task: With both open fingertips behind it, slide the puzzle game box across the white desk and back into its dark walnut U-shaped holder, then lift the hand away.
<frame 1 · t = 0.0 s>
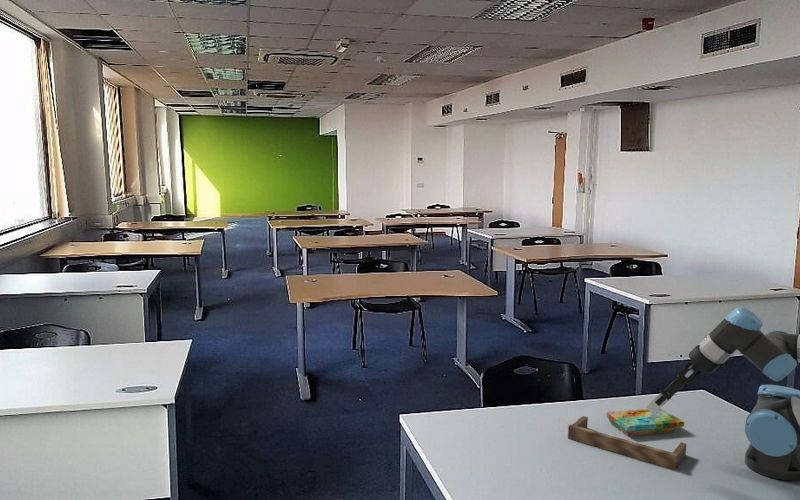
hand: (657, 403, 180), 15 cm above the table, tool tilted 35°, fingers open, 13 cm apart
puzzle game: (644, 429, 200), on the table
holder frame: (629, 442, 189), on the table
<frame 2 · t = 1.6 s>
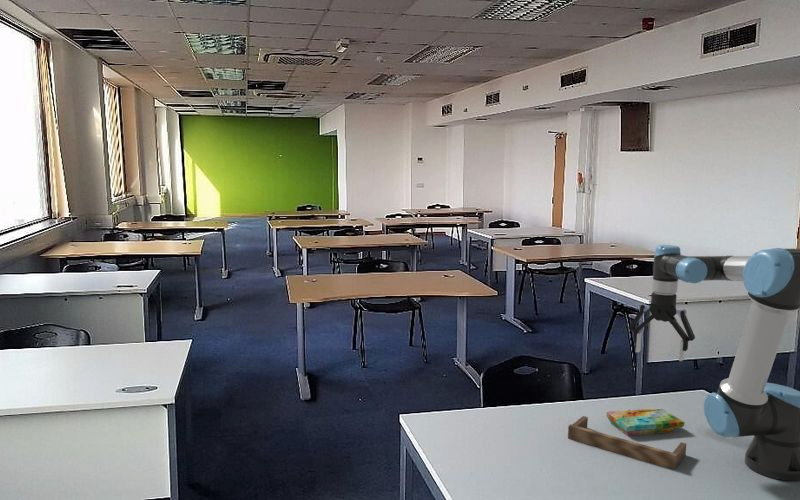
hand: (659, 355, 206), 21 cm above the table, tool pointing down, fingers open, 13 cm apart
nothing on the table moved.
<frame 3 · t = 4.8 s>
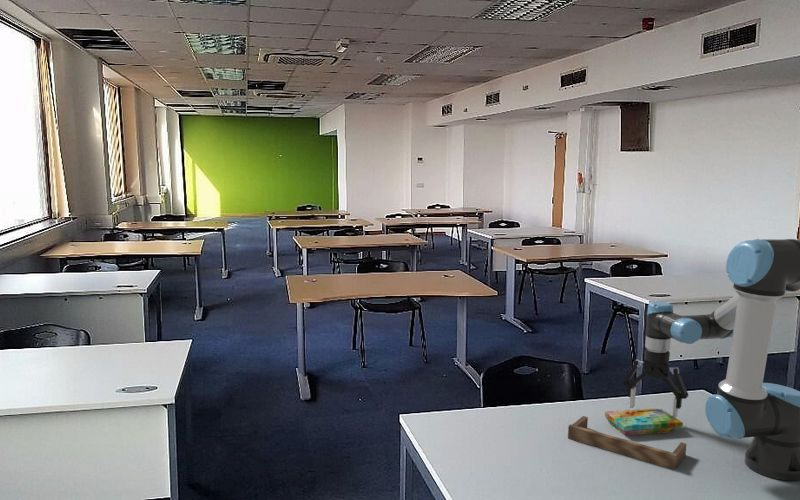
hand: (653, 412, 206), 3 cm above the table, tool pointing down, fingers open, 13 cm apart
nothing on the table moved.
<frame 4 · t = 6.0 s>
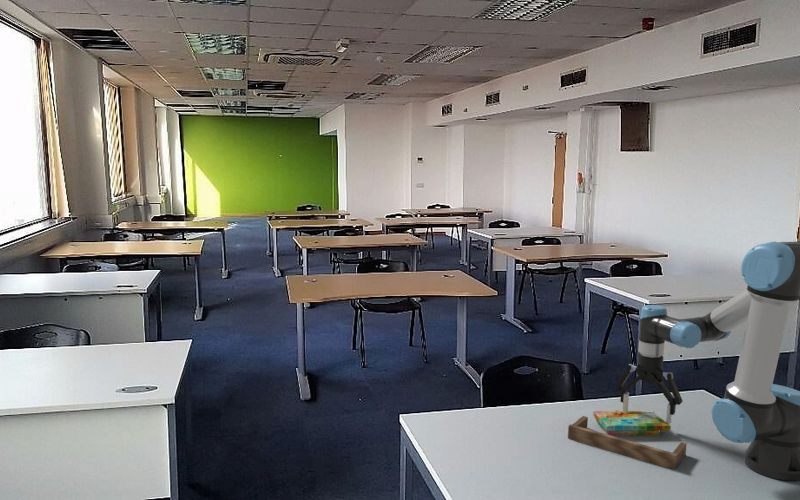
hand: (646, 418, 201), 3 cm above the table, tool pointing down, fingers open, 13 cm apart
puzzle game: (630, 430, 199), on the table, touching gripper
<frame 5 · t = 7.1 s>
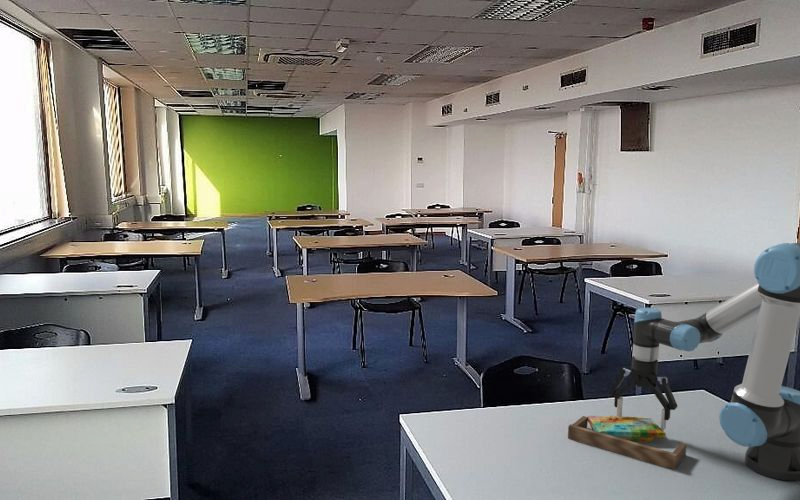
hand: (640, 423, 197), 3 cm above the table, tool pointing down, fingers open, 13 cm apart
puzzle game: (624, 436, 194), on the table
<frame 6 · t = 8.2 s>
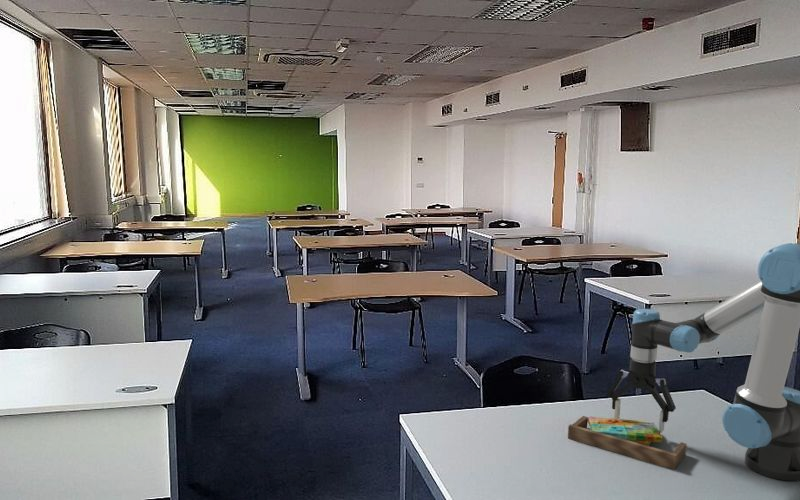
hand: (638, 425, 195), 3 cm above the table, tool pointing down, fingers open, 13 cm apart
puzzle game: (623, 439, 193), on the table
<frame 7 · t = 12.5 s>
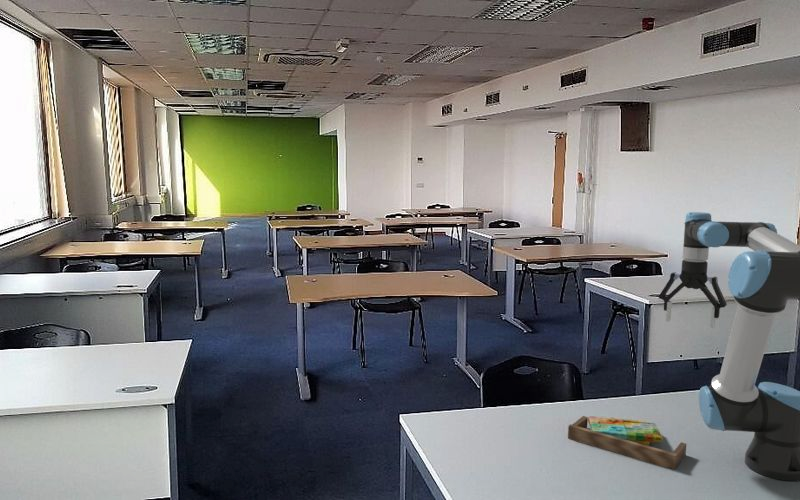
hand: (689, 324, 206), 32 cm above the table, tool pointing down, fingers open, 13 cm apart
nothing on the table moved.
at the end: puzzle game 3.5 cm off-centre on the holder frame, point -0.5 cm above the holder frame's base; puzzle game moved 12.3 cm from its start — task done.
